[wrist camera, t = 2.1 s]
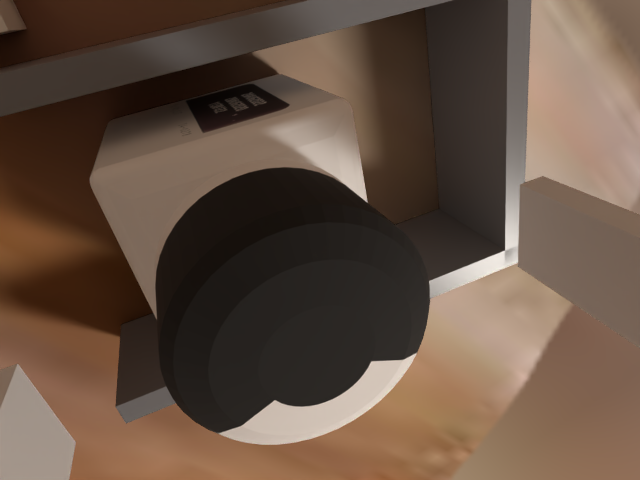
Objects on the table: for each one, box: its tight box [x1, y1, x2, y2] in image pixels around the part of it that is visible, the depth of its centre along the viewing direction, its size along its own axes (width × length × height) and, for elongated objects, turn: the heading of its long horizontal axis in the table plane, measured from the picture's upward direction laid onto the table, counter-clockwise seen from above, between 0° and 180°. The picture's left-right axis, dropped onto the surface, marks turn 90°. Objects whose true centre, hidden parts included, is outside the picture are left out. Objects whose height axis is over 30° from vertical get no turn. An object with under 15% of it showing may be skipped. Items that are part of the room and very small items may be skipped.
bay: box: [0, 0, 531, 423], centre depth 19 cm, size 19×13×6 cm
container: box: [89, 74, 430, 445], centre depth 15 cm, size 8×8×13 cm
